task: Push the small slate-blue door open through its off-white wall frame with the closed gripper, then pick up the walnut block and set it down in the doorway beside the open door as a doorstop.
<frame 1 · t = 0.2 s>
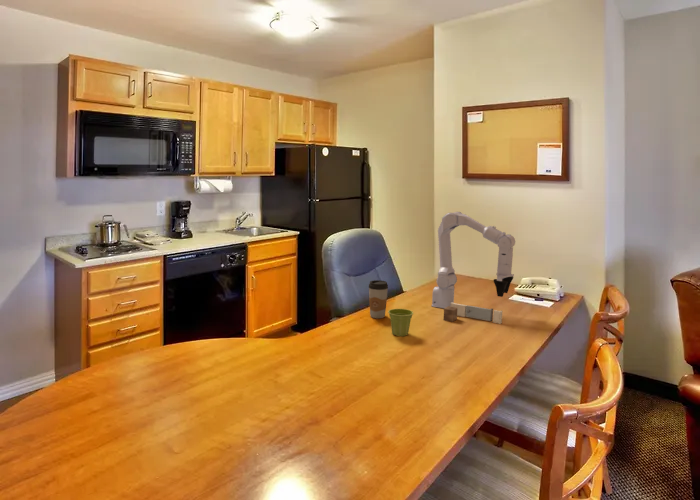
hand: (502, 294, 189), 10 cm above the table, tool pointing down, fingers open, 7 cm apart
plant pot: (400, 334, 168), on the table
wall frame: (476, 318, 188), on the table
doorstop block: (450, 319, 186), on the table
coffee cup: (377, 316, 189), on the table
door: (478, 313, 186), point 3 cm above the table, hinge at 0.0°
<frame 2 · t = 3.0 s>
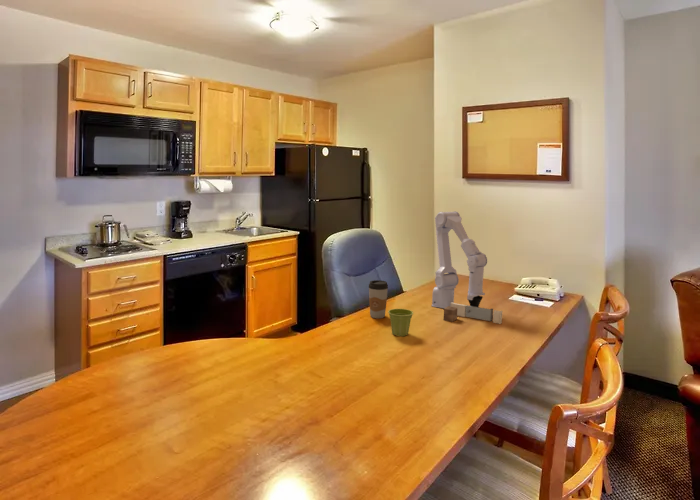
hand: (474, 312, 190), 2 cm above the table, tool pointing down, fingers closed
door: (478, 313, 186), point 3 cm above the table, hinge at 0.0°, touching gripper
everything else where it was.
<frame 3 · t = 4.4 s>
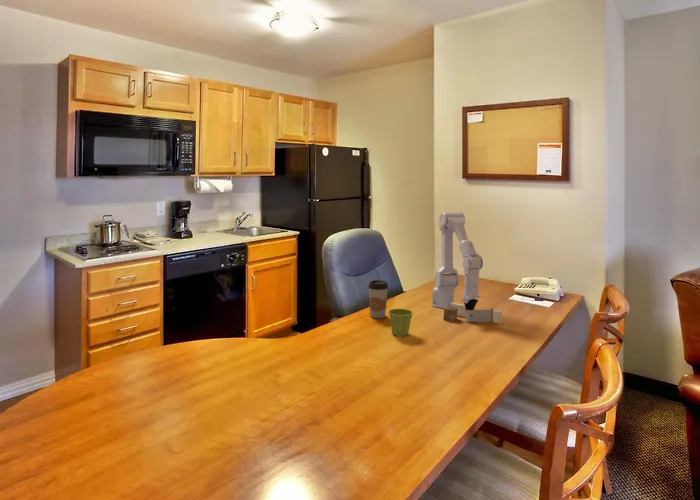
hand: (469, 316, 185), 2 cm above the table, tool pointing down, fingers closed, pressing on door
door: (480, 315, 183), point 3 cm above the table, hinge at 40.8°, touching gripper
everything else where it was.
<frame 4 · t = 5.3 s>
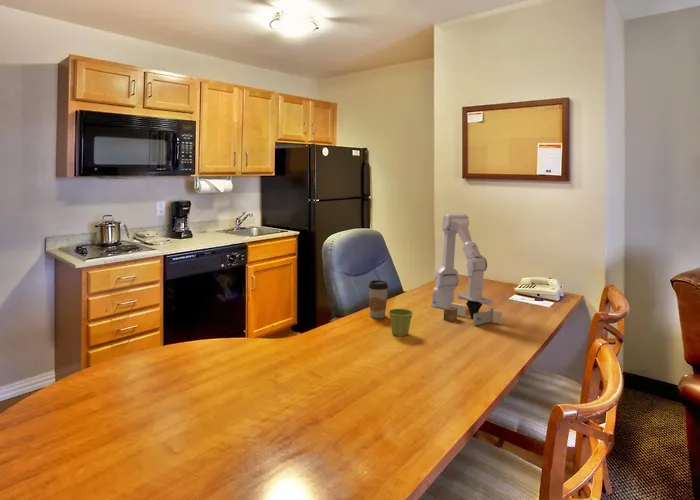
hand: (473, 319, 181), 2 cm above the table, tool pointing down, fingers closed
door: (484, 317, 181), point 3 cm above the table, hinge at 67.9°, touching gripper
everything else where it was.
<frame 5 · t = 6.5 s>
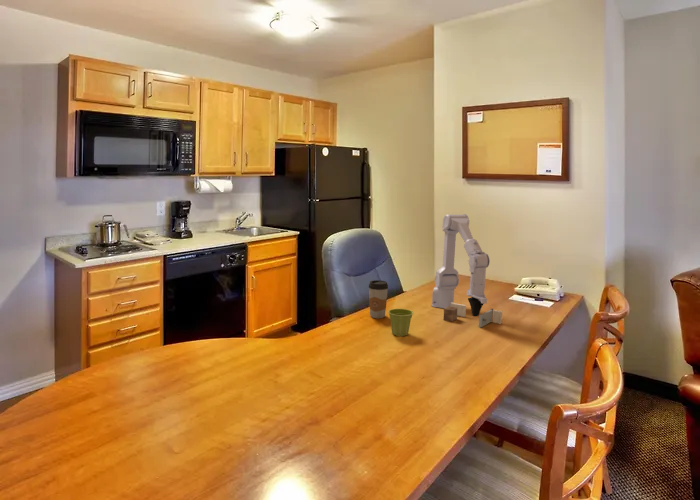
hand: (475, 315, 179), 4 cm above the table, tool pointing down, fingers closed
door: (487, 317, 180), point 3 cm above the table, hinge at 82.5°
everything else where it was.
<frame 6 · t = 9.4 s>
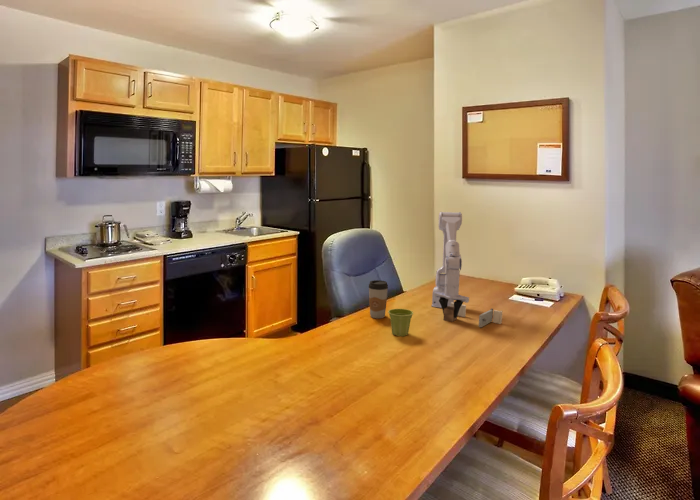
hand: (450, 316, 186), 1 cm above the table, tool pointing down, fingers closed on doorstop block, 4 cm apart
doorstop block: (450, 319, 186), on the table, touching gripper
everything else where it was.
when the fingers open (3 cm above the table, at t = 12.7 s): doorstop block stays where it is, on the table.
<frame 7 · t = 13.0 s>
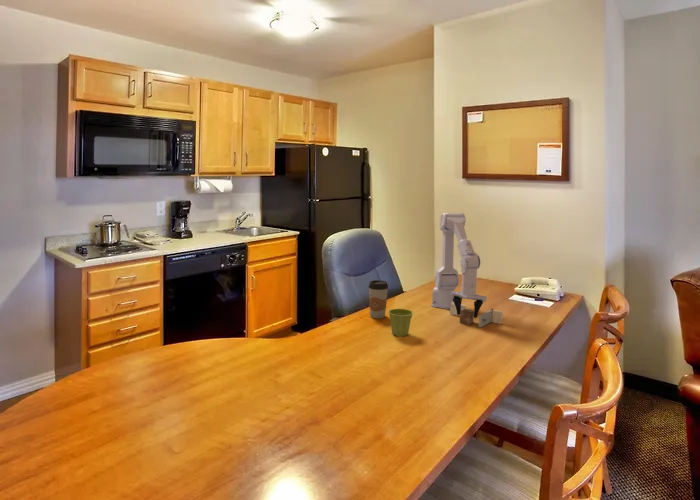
hand: (467, 315, 183), 3 cm above the table, tool pointing down, fingers open, 6 cm apart
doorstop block: (466, 322, 183), on the table
everything else where it was.
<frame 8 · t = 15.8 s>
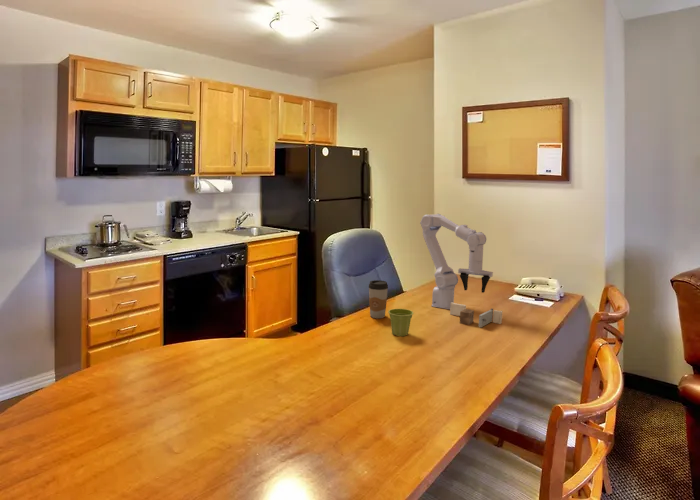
hand: (474, 291, 193), 10 cm above the table, tool pointing down, fingers open, 7 cm apart
nothing on the table moved.
at the end: door at +82° (first picture: +0°); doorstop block inside the target area (0.2 cm from its centre), on the table; the gripper is holding nothing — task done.
